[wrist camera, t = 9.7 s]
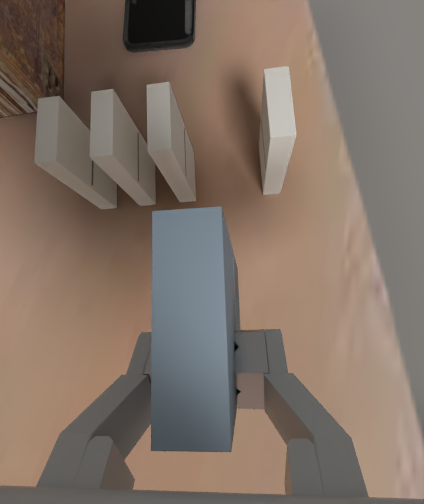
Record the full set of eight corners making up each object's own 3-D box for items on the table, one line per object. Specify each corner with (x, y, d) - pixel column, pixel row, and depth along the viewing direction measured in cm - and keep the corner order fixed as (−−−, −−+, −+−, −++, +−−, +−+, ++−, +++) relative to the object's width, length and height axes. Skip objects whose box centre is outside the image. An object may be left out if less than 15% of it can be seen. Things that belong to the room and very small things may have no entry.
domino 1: (101, 209, 31) (34, 163, 21) (102, 163, 32) (37, 98, 22) (116, 208, 31) (56, 160, 21) (117, 161, 32) (59, 95, 22)
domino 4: (210, 366, 16) (150, 450, 6) (207, 269, 17) (152, 211, 7) (242, 365, 16) (231, 451, 6) (237, 268, 17) (222, 206, 7)
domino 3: (179, 202, 30) (147, 151, 20) (178, 155, 31) (146, 84, 21) (196, 201, 30) (171, 148, 20) (194, 153, 31) (169, 81, 21)
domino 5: (262, 195, 29) (270, 137, 20) (258, 146, 30) (263, 69, 21) (280, 193, 29) (296, 135, 20) (275, 144, 30) (288, 66, 20)
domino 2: (140, 206, 31) (89, 157, 21) (139, 159, 32) (91, 91, 22) (156, 204, 30) (112, 154, 21) (155, 157, 31) (113, 88, 22)
